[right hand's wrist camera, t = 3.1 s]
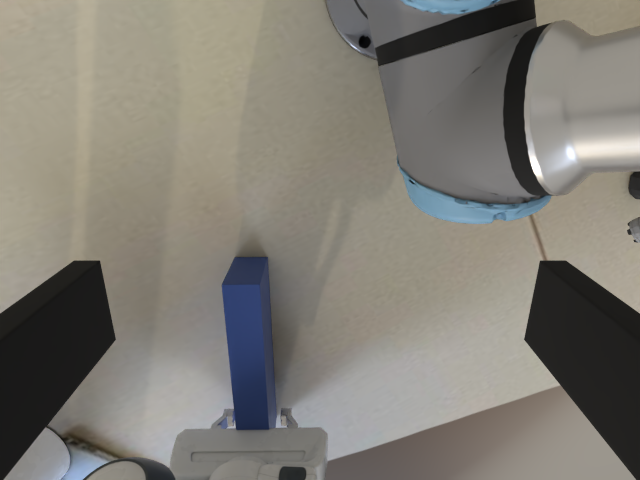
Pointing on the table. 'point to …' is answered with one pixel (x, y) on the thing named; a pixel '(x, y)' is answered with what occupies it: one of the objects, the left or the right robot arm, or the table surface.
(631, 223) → the robot
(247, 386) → the bar
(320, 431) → the left robot arm
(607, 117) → the right robot arm
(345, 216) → the table surface
